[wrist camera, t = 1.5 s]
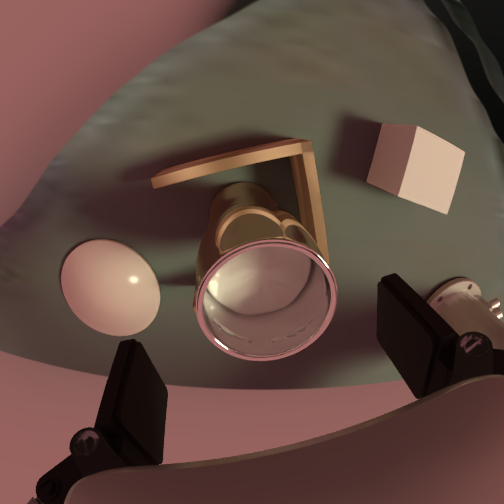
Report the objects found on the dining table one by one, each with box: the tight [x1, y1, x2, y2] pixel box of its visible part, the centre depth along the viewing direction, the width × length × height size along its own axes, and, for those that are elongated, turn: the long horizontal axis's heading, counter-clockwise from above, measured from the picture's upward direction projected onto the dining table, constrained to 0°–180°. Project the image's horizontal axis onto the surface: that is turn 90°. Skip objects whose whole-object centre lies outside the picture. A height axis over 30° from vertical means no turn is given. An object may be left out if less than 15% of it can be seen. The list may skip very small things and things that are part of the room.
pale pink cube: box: [366, 124, 465, 215], centre depth 24 cm, size 6×6×6 cm
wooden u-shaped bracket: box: [151, 138, 330, 314], centre depth 25 cm, size 12×12×5 cm
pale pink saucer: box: [61, 239, 161, 336], centre depth 29 cm, size 11×11×1 cm
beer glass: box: [195, 182, 338, 361], centre depth 21 cm, size 7×7×15 cm
